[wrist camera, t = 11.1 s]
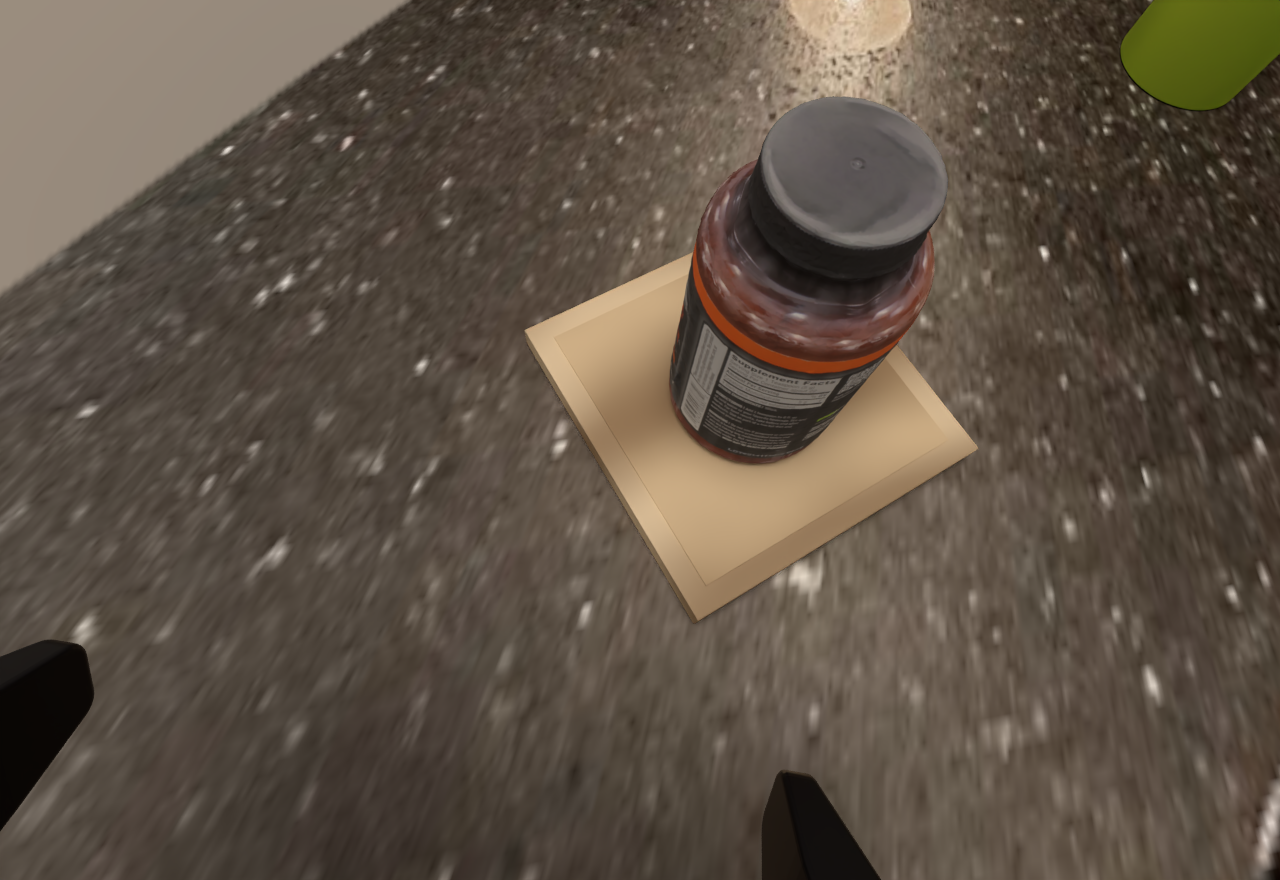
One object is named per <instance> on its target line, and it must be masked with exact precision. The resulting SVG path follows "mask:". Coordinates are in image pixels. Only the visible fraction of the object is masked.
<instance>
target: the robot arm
mask: <svg viewBox="0 0 1280 880" xmlns="http://www.w3.org/2000/svg"><path fill="white" fill-rule="evenodd" d="M93 699H94V687H93V682H92V678H91V673H90V668H89V663H88V658H87V654H86V651H85V649H84V648H83V647H82V646H81V645H79V644H75V643H70V642H64V641H58V640H43V641H40V642H37V643H34V644H32V645H29V646H27V647H24V648H21V649H19V650H16V651H14V652H11V653H9V654H6V655H3V656H1V657H0V831H1V830H2V828H3V827H4V826H5V824H6V823H7V822H8V821H9V819H10V818H11V817H12V815H13V814H14V813H15V811H16V810H17V809H18V807H19V806H20V805H21V803H22V802H23V801H24V799H25V798H26V797H27V795H28V794H29V792H30V791H31V790H32V788H33V787H34V786H35V784H36V783H37V781H38V780H39V779H40V777H41V776H42V775H43V773H44V772H45V770H46V769H47V768H48V766H49V765H50V764H51V762H52V761H53V760H54V758H55V757H56V755H57V754H58V753H59V751H60V750H61V749H62V747H63V746H64V744H65V743H66V742H67V740H68V739H69V738H70V736H71V735H72V733H73V732H74V731H75V729H76V728H77V727H78V725H79V724H80V723H81V721H82V720H83V718H84V717H85V716H86V714H87V713H88V711H89V709H90V707H91V705H92V702H93ZM762 880H881V879H880V877H879V876H878V874H877V873H876V871H875V870H874V868H873V867H872V865H871V864H870V862H869V861H868V859H867V858H866V856H865V854H864V853H863V851H862V850H861V848H860V847H859V845H858V844H857V842H856V841H855V839H854V838H853V836H852V835H851V833H850V832H849V830H848V829H847V827H846V826H845V824H844V823H843V821H842V820H841V818H840V816H839V815H838V813H837V812H836V810H835V809H834V807H833V806H832V804H831V803H830V801H829V800H828V798H827V797H826V795H825V794H824V792H823V791H822V789H821V788H820V786H819V785H818V783H817V781H816V780H815V779H814V778H813V777H812V776H811V775H809V774H806V773H800V772H794V771H789V770H781V771H780V772H779V773H778V774H777V776H776V779H775V782H774V785H773V788H772V791H771V794H770V796H769V799H768V802H767V805H766V808H765V811H764V815H763V821H762Z"/></svg>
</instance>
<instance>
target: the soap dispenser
mask: <svg viewBox="0 0 1280 880" xmlns="http://www.w3.org/2000/svg"><path fill="white" fill-rule="evenodd" d="M1279 54H1280V0H1154V1H1153V2H1152V3H1151V4H1150V6H1149V7H1148V8H1147V9H1146V11H1145V12H1144V13H1143V14H1142V16H1141V17H1140V18H1139V19H1138V21H1137V22H1136V23H1135V24H1134V26H1133V27H1132V28H1131V29H1130V31H1129V32H1128V33H1127V35H1126V36H1125V37H1124V39H1123V41H1122V44H1121V59H1122V62H1123V65H1124V67H1125V69H1126V71H1127V72H1128V74H1129V75H1130V77H1131V78H1132V79H1133V80H1134V81H1135V83H1136V84H1137V85H1139V86H1140V87H1141V88H1142V89H1143V90H1144V91H1146V92H1147V93H1149V94H1150V95H1152V96H1153V97H1155V98H1157V99H1158V100H1160V101H1163V102H1165V103H1167V104H1170V105H1172V106H1176V107H1179V108H1183V109H1189V110H1210V109H1215V108H1218V107H1220V106H1223V105H1225V104H1226V103H1228V102H1229V101H1230V100H1231V99H1232V98H1233V97H1234V96H1236V95H1237V94H1238V93H1239V92H1240V91H1241V90H1242V89H1243V88H1244V87H1245V86H1246V85H1247V84H1248V83H1249V82H1250V81H1251V80H1252V79H1253V78H1254V77H1255V76H1257V75H1258V74H1259V73H1260V72H1261V71H1262V70H1263V69H1264V68H1265V67H1266V66H1267V65H1268V64H1269V63H1270V62H1271V61H1272V60H1273V59H1274V58H1275V57H1277V56H1278V55H1279Z"/></svg>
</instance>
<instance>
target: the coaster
mask: <svg viewBox="0 0 1280 880" xmlns="http://www.w3.org/2000/svg"><path fill="white" fill-rule="evenodd" d="M692 255H693V253H691V254H688V255H686V256H684V257H682V258H680V259H678V260H675V261H673V262H671V263H669V264H667V265H665V266H662V267H660V268H658V269H656V270H654V271H652V272H649V273H647V274H645V275H643V276H641V277H639V278H637V279H634V280H632V281H630V282H628V283H626V284H624V285H621V286H619V287H617V288H615V289H613V290H611V291H608V292H606V293H604V294H602V295H600V296H598V297H595V298H593V299H591V300H589V301H587V302H585V303H582V304H580V305H578V306H576V307H574V308H572V309H570V310H567V311H565V312H563V313H561V314H559V315H557V316H554V317H552V318H550V319H548V320H546V321H544V322H541V323H539V324H537V325H535V326H533V327H531V328H528V329H526V330H525V335H526V341H527V344H528V346H529V348H530V349H531V351H532V353H533V355H534V356H535V358H536V360H537V361H538V363H539V365H540V366H541V368H542V370H543V371H544V373H545V375H546V376H547V378H548V380H549V381H550V383H551V385H552V386H553V388H554V390H555V392H556V393H557V395H558V397H559V398H560V400H561V402H562V403H563V405H564V407H565V408H566V410H567V412H568V413H569V415H570V417H571V418H572V420H573V422H574V423H575V425H576V427H577V429H578V430H579V432H580V434H581V435H582V437H583V439H584V440H585V442H586V444H587V445H588V447H589V449H590V450H591V452H592V454H593V455H594V457H595V459H596V460H597V462H598V464H599V466H600V467H601V469H602V471H603V472H604V474H605V476H606V477H607V479H608V481H609V482H610V484H611V486H612V487H613V489H614V491H615V492H616V494H617V496H618V498H619V499H620V501H621V503H622V504H623V506H624V508H625V509H626V511H627V513H628V514H629V516H630V518H631V519H632V521H633V523H634V524H635V526H636V528H637V529H638V531H639V533H640V535H641V536H642V538H643V540H644V541H645V543H646V545H647V546H648V548H649V550H650V551H651V553H652V555H653V556H654V558H655V560H656V561H657V563H658V565H659V566H660V568H661V570H662V572H663V573H664V575H665V577H666V578H667V580H668V582H669V583H670V585H671V587H672V588H673V590H674V592H675V593H676V595H677V597H678V598H679V600H680V602H681V604H682V605H683V607H684V609H685V610H686V612H687V614H688V615H689V617H690V619H691V620H692V622H693V624H695V623H697V622H698V621H700V620H701V619H703V618H705V617H706V616H708V615H710V614H711V613H713V612H714V611H716V610H718V609H719V608H721V607H723V606H724V605H726V604H727V603H729V602H731V601H732V600H734V599H736V598H737V597H739V596H740V595H742V594H744V593H745V592H747V591H749V590H750V589H752V588H753V587H755V586H757V585H758V584H760V583H762V582H763V581H765V580H767V579H768V578H770V577H771V576H773V575H775V574H776V573H778V572H780V571H781V570H783V569H784V568H786V567H788V566H789V565H791V564H793V563H794V562H796V561H797V560H799V559H801V558H802V557H804V556H806V555H807V554H809V553H810V552H812V551H814V550H815V549H817V548H819V547H820V546H822V545H823V544H825V543H827V542H828V541H830V540H832V539H833V538H835V537H836V536H838V535H840V534H841V533H843V532H845V531H846V530H848V529H850V528H851V527H853V526H854V525H856V524H858V523H859V522H861V521H863V520H864V519H866V518H867V517H869V516H871V515H872V514H874V513H876V512H877V511H879V510H880V509H882V508H884V507H885V506H887V505H889V504H890V503H892V502H893V501H895V500H897V499H898V498H900V497H902V496H903V495H905V494H906V493H908V492H910V491H911V490H913V489H915V488H916V487H918V486H919V485H921V484H923V483H924V482H926V481H928V480H929V479H931V478H933V477H934V476H936V475H937V474H939V473H941V472H942V471H944V470H946V469H947V468H949V467H950V466H952V465H954V464H955V463H957V462H959V461H960V460H962V459H963V458H965V457H967V456H968V455H970V454H971V453H973V452H974V451H975V450H977V449H978V447H977V446H976V445H975V443H974V442H973V441H972V440H971V438H970V437H969V436H968V434H967V433H966V432H965V431H964V429H963V428H962V427H961V426H960V424H959V423H958V422H957V420H956V419H955V418H954V417H953V415H952V414H951V413H950V412H949V410H948V409H947V408H946V407H945V405H944V404H943V403H942V401H941V400H940V399H939V398H938V396H937V395H936V394H935V393H934V391H933V390H932V389H931V388H930V386H929V385H928V384H927V382H926V381H925V380H924V379H923V377H922V376H921V375H920V374H919V372H918V371H917V370H916V369H915V367H914V366H913V365H912V363H911V362H910V361H909V360H908V358H907V357H906V356H905V355H904V353H903V352H902V351H901V350H900V348H899V347H898V346H897V345H896V346H895V347H894V348H893V349H892V350H891V351H890V352H889V354H888V355H887V356H886V357H885V358H884V360H883V361H882V362H881V363H880V365H879V366H878V367H877V368H876V369H875V371H874V372H873V373H872V374H871V375H870V376H869V378H868V379H867V380H866V382H865V383H864V384H863V385H862V386H861V387H860V389H859V390H858V391H857V392H856V393H855V395H854V396H853V397H852V398H851V399H850V401H849V402H848V403H847V404H846V405H845V406H844V407H843V409H842V410H841V411H840V412H839V413H838V415H837V416H836V417H835V419H834V420H833V421H832V422H831V423H830V424H829V426H828V427H827V428H826V429H825V430H824V431H823V432H822V433H821V434H820V436H819V437H818V438H816V439H815V440H814V441H813V442H812V443H811V444H810V445H809V446H807V447H806V448H805V449H803V450H801V451H800V452H798V453H797V454H795V455H792V456H790V457H788V458H785V459H781V460H779V461H776V462H772V463H763V464H752V463H744V462H738V461H734V460H731V459H727V458H724V457H722V456H720V455H718V454H716V453H714V452H712V451H710V450H708V449H707V448H705V447H704V446H702V445H701V444H700V443H699V442H698V441H697V440H696V439H695V438H693V437H692V436H691V435H690V433H689V432H688V431H687V430H686V428H685V427H684V425H683V424H682V423H681V421H680V420H679V418H678V416H677V415H676V412H675V410H674V407H673V404H672V401H671V395H670V387H669V378H670V365H671V356H672V353H673V347H674V344H675V339H676V334H677V329H678V325H679V321H680V316H681V311H682V306H683V301H684V296H685V290H686V284H687V280H688V275H689V270H690V266H691V258H692Z"/></svg>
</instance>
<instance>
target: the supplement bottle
mask: <svg viewBox="0 0 1280 880" xmlns="http://www.w3.org/2000/svg"><path fill="white" fill-rule="evenodd" d="M947 188H948V177H947V173H946V170H945V165H944V163H943V160H942V156H941V154H940V153H939V151H938V149H937V148H936V147H935V145H934V143H933V142H932V140H931V139H930V138H929V137H928V136H927V135H926V133H925V132H924V131H923V130H922V129H921V128H920V127H919V126H918V125H917V124H915V123H914V122H912V121H911V120H910V119H908V118H907V117H906V116H905V115H903V114H902V113H900V112H897V111H895V110H893V109H891V108H889V107H886V106H884V105H881V104H878V103H875V102H872V101H868V100H866V99H860V98H851V97H834V96H833V97H825V98H820V99H816V100H812V101H809V102H806V103H803V104H800V105H799V106H797V107H796V108H793V109H792V110H790V111H789V112H787V113H786V114H784V115H783V116H782V117H781V118H780V119H779V120H778V121H777V122H776V123H775V124H774V126H773V127H772V128H771V130H770V131H769V133H768V135H767V136H766V138H765V141H764V143H763V146H762V149H761V153H760V155H759V158H758V159H757V160H755V161H752V162H750V163H748V164H746V165H745V166H743V167H742V168H740V169H738V170H737V171H736V172H733V174H732V175H730V176H729V177H728V179H727V180H726V181H724V182H723V183H722V184H721V186H719V187H718V189H717V191H716V192H715V194H714V195H713V197H712V198H711V200H710V202H709V204H708V205H707V207H706V210H705V212H704V214H703V216H702V218H701V223H700V226H699V229H698V234H697V239H696V244H695V248H694V252H693V255H692V258H691V266H690V270H689V275H688V280H687V284H686V290H685V296H684V301H683V306H682V311H681V316H680V321H679V325H678V329H677V334H676V339H675V344H674V347H673V353H672V356H671V365H670V378H669V387H670V395H671V401H672V404H673V407H674V410H675V412H676V415H677V416H678V418H679V420H680V421H681V423H682V424H683V425H684V427H685V428H686V430H687V431H688V432H689V433H690V435H691V436H692V437H693V438H695V439H696V440H697V441H698V442H699V443H700V444H701V445H702V446H704V447H705V448H707V449H708V450H710V451H712V452H714V453H716V454H718V455H720V456H722V457H724V458H727V459H731V460H734V461H738V462H744V463H752V464H763V463H772V462H776V461H779V460H781V459H785V458H788V457H790V456H792V455H795V454H797V453H798V452H800V451H801V450H803V449H805V448H806V447H807V446H809V445H810V444H811V443H812V442H813V441H814V440H815V439H816V438H818V437H819V436H820V434H821V433H822V432H823V431H824V430H825V429H826V428H827V427H828V426H829V424H830V423H831V422H832V421H833V420H834V419H835V417H836V416H837V415H838V413H839V412H840V411H841V410H842V409H843V407H844V406H845V405H846V404H847V403H848V402H849V401H850V399H851V398H852V397H853V396H854V395H855V393H856V392H857V391H858V390H859V389H860V387H861V386H862V385H863V384H864V383H865V382H866V380H867V379H868V378H869V376H870V375H871V374H872V373H873V372H874V371H875V369H876V368H877V367H878V366H879V365H880V363H881V362H882V361H883V360H884V358H885V357H886V356H887V355H888V354H889V352H890V351H891V350H892V349H893V348H894V347H895V346H896V345H897V343H898V342H899V340H900V339H901V338H902V337H903V335H904V334H905V333H906V332H907V330H908V329H909V328H910V327H911V325H912V324H913V322H914V321H915V319H916V318H917V316H918V315H919V313H920V311H921V309H922V307H923V306H924V304H925V302H926V299H927V297H928V294H929V292H930V289H931V286H932V282H933V277H934V266H935V262H934V248H933V242H932V238H931V234H930V228H931V227H932V225H933V224H934V223H935V221H936V220H937V218H938V216H939V214H940V213H941V210H942V208H943V206H944V203H945V199H946V195H947Z"/></svg>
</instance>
